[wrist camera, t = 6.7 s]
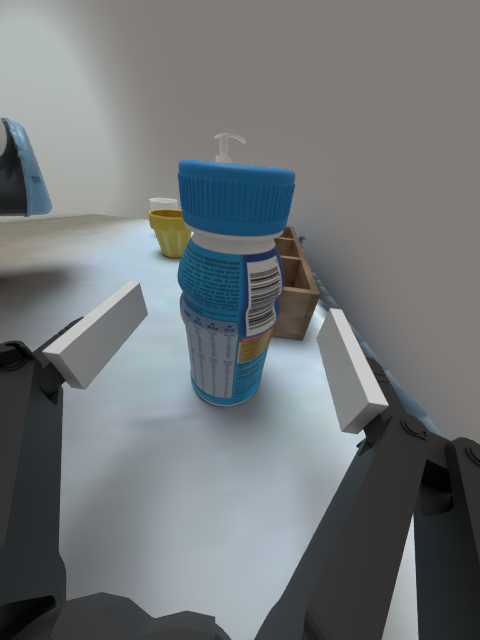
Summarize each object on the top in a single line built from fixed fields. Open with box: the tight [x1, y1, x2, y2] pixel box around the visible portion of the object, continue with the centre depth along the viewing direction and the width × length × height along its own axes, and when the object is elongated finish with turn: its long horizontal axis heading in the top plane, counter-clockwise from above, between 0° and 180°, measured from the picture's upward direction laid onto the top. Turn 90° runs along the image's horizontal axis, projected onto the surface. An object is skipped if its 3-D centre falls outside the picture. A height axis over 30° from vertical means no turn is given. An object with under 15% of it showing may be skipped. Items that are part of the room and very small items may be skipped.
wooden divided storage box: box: [271, 226, 320, 340], centre depth 41 cm, size 13×36×8 cm, turn 173°
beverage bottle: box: [178, 159, 295, 406], centre depth 17 cm, size 8×8×20 cm
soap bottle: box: [214, 133, 246, 164], centre depth 57 cm, size 12×10×26 cm
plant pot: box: [148, 209, 191, 258], centre depth 50 cm, size 10×10×10 cm
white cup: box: [149, 198, 178, 210], centre depth 61 cm, size 8×8×10 cm
